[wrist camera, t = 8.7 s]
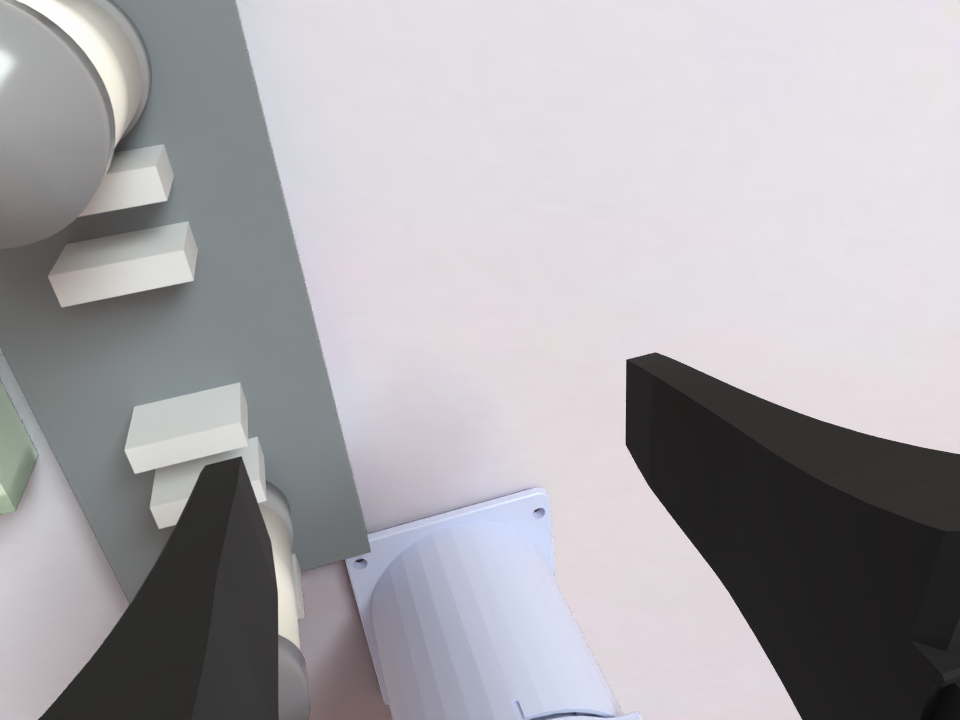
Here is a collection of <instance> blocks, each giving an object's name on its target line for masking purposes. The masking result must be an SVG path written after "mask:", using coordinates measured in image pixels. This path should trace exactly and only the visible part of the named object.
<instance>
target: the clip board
mask: <svg viewBox="0 0 960 720" xmlns="http://www.w3.org/2000/svg"><path fill="white" fill-rule="evenodd" d="M113 1H114V2H115V3H116V4H117V5H118V6H120V7H121V8H122V9H123V10H124V11H125V13H126V14H127V15H128V16H129V17H130V19H131V20H132V21H133V23H134V24H135V26H136V27H137V29H138V30H139V32H140V34H141V36H142V38H143V40H144V42H145V44H146V47H147V50H148V53H149V57H150V61H151V68H152V85H151V92H150V96H149V99H148V102H147V104H146V106H145V108H144V110H143V112H142V114H141V116H140V117H139V119H138V121H137V122H136V124H135V125H134V126H133V128H132V129H131V130H130V131H129V132H128V133H127V134H126V135H125V137H123V138H122V139H121V140H119V142H118V143H117V145H116V147H115V148H114V153H113V157H112V160H111V163H110V166H109V169H108V171H107V173H106V175H105V177H104V179H103V181H102V182H101V184H100V186H99V187H98V189H97V191H96V193H95V194H94V196H93V198H92V199H91V201H90V202H89V204H88V205H87V206H86V208H85V209H84V211H83V212H82V213H81V214H80V215H79V216H78V217H77V218H76V219H75V220H74V221H73V222H72V223H70V224H69V225H68V226H66V227H65V228H64V229H62V230H61V231H59V232H57V233H55V234H54V235H52V236H50V237H48V238H46V239H43V240H40V241H38V242H35V243H32V244H28V245H24V246H20V247H14V248H6V249H0V347H1V349H2V351H3V353H4V355H5V357H6V359H7V361H8V363H9V365H10V367H11V369H12V371H13V373H14V375H15V377H16V379H17V381H18V383H19V385H20V387H21V389H22V391H23V393H24V395H25V397H26V399H27V401H28V403H29V405H30V407H31V409H32V411H33V413H34V415H35V417H36V419H37V421H38V423H39V425H40V427H41V429H42V431H43V433H44V435H45V437H46V439H47V441H48V443H49V445H50V447H51V449H52V451H53V453H54V455H55V457H56V459H57V461H58V463H59V465H60V466H61V468H62V470H63V472H64V474H65V476H66V478H67V480H68V482H69V484H70V486H71V488H72V490H73V492H74V494H75V496H76V498H77V500H78V502H79V504H80V506H81V508H82V510H83V512H84V514H85V516H86V518H87V520H88V522H89V524H90V526H91V528H92V530H93V532H94V534H95V536H96V538H97V540H98V542H99V544H100V546H101V548H102V550H103V552H104V554H105V556H106V558H107V560H108V562H109V564H110V566H111V568H112V570H113V572H114V574H115V576H116V578H117V580H118V582H119V584H120V586H121V588H122V590H123V592H124V594H125V596H126V598H127V600H128V602H129V604H131V602H132V600H133V599H134V597H135V596H136V594H137V592H138V591H139V589H140V587H141V586H142V584H143V582H144V581H145V579H146V578H147V576H148V574H149V573H150V571H151V569H152V568H153V566H154V564H155V563H156V561H157V559H158V557H159V556H160V554H161V552H162V550H163V548H164V546H165V544H166V542H167V541H168V539H169V537H170V535H171V533H172V531H173V526H174V525H176V524H177V522H178V520H179V517H180V515H181V513H182V511H183V509H184V507H185V505H186V503H187V501H188V499H189V497H190V495H191V492H192V490H193V488H194V486H195V484H196V481H197V479H198V477H199V475H200V472H201V471H202V469H203V468H204V467H205V465H209V464H213V463H217V462H221V461H224V460H228V459H232V458H236V457H240V456H242V459H243V462H244V464H245V467H246V470H247V473H248V476H249V479H250V482H251V485H252V488H253V490H254V493H255V496H256V499H257V502H258V503H260V502H264V501H267V498H266V481H268V482H270V483H272V484H273V485H275V486H276V487H277V488H278V489H280V490H281V491H282V493H283V494H284V495H285V497H286V498H287V500H288V503H289V505H290V510H291V519H292V529H293V546H292V549H291V553H292V564H293V575H294V585H295V596H296V607H297V618H298V620H300V619H303V618H305V609H304V600H303V590H302V580H301V572H303V571H306V570H310V569H313V568H317V567H321V566H324V565H328V564H331V563H335V562H338V561H342V560H345V559H349V558H352V557H356V556H359V555H363V554H366V553H370V552H371V548H370V544H369V540H368V535H367V531H366V527H365V523H364V519H363V514H362V510H361V506H360V502H359V498H358V494H357V490H356V486H355V482H354V478H353V474H352V470H351V466H350V462H349V458H348V454H347V450H346V446H345V442H344V438H343V434H342V430H341V425H340V421H339V417H338V413H337V409H336V405H335V401H334V397H333V393H332V389H331V385H330V381H329V377H328V373H327V369H326V365H325V361H324V357H323V353H322V349H321V345H320V340H319V336H318V332H317V328H316V324H315V320H314V316H313V312H312V308H311V304H310V300H309V296H308V292H307V288H306V284H305V280H304V276H303V272H302V268H301V264H300V260H299V255H298V251H297V247H296V243H295V239H294V235H293V231H292V227H291V223H290V219H289V215H288V211H287V207H286V203H285V199H284V195H283V191H282V187H281V183H280V179H279V175H278V171H277V166H276V162H275V158H274V154H273V150H272V146H271V142H270V138H269V134H268V130H267V126H266V122H265V118H264V114H263V110H262V106H261V102H260V98H259V94H258V90H257V86H256V81H255V77H254V73H253V69H252V65H251V61H250V57H249V53H248V49H247V45H246V41H245V37H244V33H243V29H242V25H241V21H240V17H239V13H238V9H237V5H236V1H235V0H113Z"/></svg>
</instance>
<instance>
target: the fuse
mask: <svg viewBox="0 0 960 720" xmlns="http://www.w3.org/2000/svg"><path fill="white" fill-rule="evenodd" d="M151 85H152V68H151V61H150V57H149V53H148V50H147V47H146V44H145V42H144V40H143V38H142V36H141V34H140V32H139V30H138V29H137V27H136V26H135V24H134V23H133V21H132V20H131V19H130V17H129V16H128V15H127V14H126V13H125V11H124V10H123V9H122V8H121V7H120V6H118V5H117V4H116V3H115V2H114V1H113V0H0V249H6V248H14V247H20V246H24V245H28V244H32V243H35V242H38V241H40V240H43V239H46V238H48V237H50V236H52V235H54V234H55V233H57V232H59V231H61V230H62V229H64V228H65V227H66V226H68V225H69V224H70V223H72V222H73V221H74V220H75V219H76V218H77V217H78V216H79V215H80V214H81V213H82V212H83V211H84V209H85V208H86V206H87V205H88V204H89V202H90V201H91V199H92V198H93V196H94V194H95V193H96V191H97V189H98V187H99V186H100V184H101V182H102V181H103V179H104V177H105V175H106V173H107V171H108V169H109V166H110V163H111V160H112V157H113V153H114V148H115V147H116V145H117V143H118V142H119V140H121V139H122V138H123V137H125V135H126V134H127V133H128V132H129V131H130V130H131V129H132V128H133V126H134V125H135V124H136V122H137V121H138V119H139V117H140V116H141V114H142V112H143V110H144V108H145V106H146V104H147V102H148V99H149V96H150V92H151Z"/></svg>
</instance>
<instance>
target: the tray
mask: <svg viewBox="0 0 960 720" xmlns="http://www.w3.org/2000/svg"><path fill="white" fill-rule="evenodd" d="M37 456H38V452H37V450H36V448H35V446H34V445H33V443H32V441H31V439H30V437H29V435H28V433H27V431H26V429H25V427H24V425H23V423H22V421H21V419H20V417H19V415H18V414H17V412H16V410H15V408H14V406H13V404H12V402H11V400H10V398H9V396H8V394H7V392H6V390H5V388H4V386H3V385H2V383H1V381H0V515H2V514H6V513H10V512H14V511H16V510H17V507H18V505H19V502H20V500H21V497H22V495H23V492H24V489H25V487H26V484H27V482H28V479H29V477H30V474H31V472H32V469H33V467H34V464H35V461H36V459H37Z"/></svg>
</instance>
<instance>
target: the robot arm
mask: <svg viewBox="0 0 960 720" xmlns="http://www.w3.org/2000/svg"><path fill="white" fill-rule="evenodd" d="M626 446H627V448H628V450H629V452H630V453H631V455H632V457H633V459H634V461H635V463H636V464H637V466H638V468H639V470H640V472H641V473H642V475H643V477H644V478H645V480H646V482H647V484H648V485H649V487H650V488H651V490H652V491H653V492H654V494H655V495H656V496H657V498H658V499H659V500H660V502H661V503H662V504H663V506H664V507H665V508H666V510H667V511H668V512H669V514H670V515H671V516H672V517H673V519H674V520H675V521H676V523H677V524H678V525H679V527H680V528H681V529H682V530H683V532H684V533H685V534H686V536H687V537H688V538H689V540H690V541H691V542H692V543H693V545H694V546H695V547H696V549H697V550H698V551H699V552H700V554H701V555H702V556H703V558H704V559H705V560H706V562H707V563H708V564H709V565H710V567H711V568H712V569H713V571H714V572H715V573H716V575H717V576H718V578H719V579H720V580H721V582H722V583H723V585H724V586H725V588H726V589H727V590H728V592H729V593H730V595H731V597H732V598H733V600H734V602H735V603H736V605H737V606H738V608H739V610H740V611H741V613H742V615H743V616H744V618H745V620H746V621H747V623H748V624H749V626H750V628H751V629H752V631H753V633H754V634H755V636H756V638H757V639H758V641H759V643H760V645H761V646H762V648H763V650H764V652H765V653H766V655H767V657H768V658H769V660H770V662H771V664H772V665H773V667H774V669H775V671H776V672H777V674H778V676H779V678H780V679H781V681H782V683H783V685H784V687H785V688H786V690H787V692H788V694H789V696H790V698H791V700H792V701H793V703H794V705H795V707H796V709H797V711H798V713H799V714H800V716H801V718H802V720H960V454H955V453H949V452H944V451H938V450H933V449H928V448H922V447H918V446H913V445H909V444H905V443H900V442H896V441H891V440H887V439H883V438H879V437H875V436H871V435H867V434H863V433H860V432H856V431H853V430H850V429H846V428H843V427H840V426H837V425H833V424H830V423H827V422H823V421H820V420H817V419H814V418H812V417H809V416H806V415H803V414H800V413H798V412H795V411H792V410H790V409H787V408H784V407H782V406H779V405H777V404H774V403H771V402H769V401H767V400H764V399H762V398H759V397H757V396H754V395H752V394H750V393H747V392H745V391H743V390H740V389H738V388H736V387H734V386H731V385H729V384H727V383H725V382H722V381H720V380H718V379H716V378H714V377H711V376H709V375H707V374H705V373H703V372H700V371H698V370H696V369H694V368H692V367H689V366H687V365H685V364H683V363H681V362H678V361H676V360H674V359H671V358H669V357H666V356H664V355H661V354H659V353H656V352H655V353H651V354H647V355H643V356H640V357H636V358H632V359H628V360H626ZM538 508H541V509H540V510H539V511H537V512H534V510H536V509H538ZM367 535H368V540H369V544H370V548H371V552H370V553H366V554H363V555H359V556H356V557H352V558H349V559H345V563H346V566H347V570H348V574H349V577H350V581H351V585H352V588H353V592H354V595H355V599H356V603H357V606H358V610H359V614H360V617H361V621H362V625H363V628H364V632H365V635H366V639H367V643H368V646H369V650H370V654H371V657H372V661H373V665H374V668H375V672H376V675H377V679H378V683H379V686H380V690H381V694H382V697H383V701H384V703H385V704H386V705H388V706H390V710H391V715H392V720H643V719H642V717H641V715H640V713H639V712H633V713H630V714H627V715H624V713H623V711H622V710H621V708H620V706H619V704H618V702H617V700H616V698H615V696H614V694H613V692H612V690H611V688H610V686H609V684H608V682H607V680H606V678H605V676H604V674H603V672H602V670H601V668H600V666H599V664H598V662H597V660H596V658H595V657H594V655H593V653H592V651H591V649H590V647H589V645H588V643H587V641H586V639H585V637H584V635H583V633H582V631H581V629H580V627H579V625H578V623H577V621H576V619H575V617H574V615H573V613H572V611H571V609H570V607H569V605H568V604H567V602H566V600H565V598H564V596H563V594H562V592H561V590H560V588H559V586H558V584H557V582H556V578H555V564H554V551H553V537H552V523H551V510H550V499H549V496H548V494H547V492H546V491H545V490H544V489H543V488H539V487H538V488H532V489H529V490H525V491H521V492H518V493H514V494H511V495H507V496H503V497H500V498H496V499H493V500H489V501H486V502H482V503H478V504H475V505H471V506H468V507H464V508H460V509H457V510H453V511H450V512H446V513H442V514H439V515H435V516H432V517H428V518H424V519H421V520H417V521H414V522H410V523H406V524H403V525H399V526H396V527H392V528H388V529H385V530H381V531H378V532H374V533H371V534H367ZM358 559H364V560H363V561H361V562H355V561H356V560H358ZM38 720H279V712H278V589H277V581H276V573H275V565H274V558H273V551H272V543H271V540H270V537H269V534H268V531H267V528H266V525H265V522H264V519H263V516H262V514H261V511H260V508H259V505H258V502H257V499H256V496H255V493H254V490H253V488H252V485H251V482H250V479H249V476H248V473H247V470H246V467H245V464H244V462H243V459H242V456H240V457H236V458H232V459H228V460H224V461H221V462H217V463H213V464H209V465H205V467H204V468H203V469H202V471H201V472H200V475H199V477H198V479H197V481H196V484H195V486H194V488H193V490H192V492H191V495H190V497H189V499H188V501H187V503H186V505H185V507H184V509H183V511H182V513H181V515H180V517H179V520H178V522H177V524H176V526H175V527H174V529H173V531H172V533H171V535H170V537H169V539H168V541H167V542H166V544H165V546H164V548H163V550H162V552H161V554H160V556H159V557H158V559H157V561H156V563H155V564H154V566H153V568H152V569H151V571H150V573H149V574H148V576H147V578H146V579H145V581H144V582H143V584H142V586H141V587H140V589H139V591H138V592H137V594H136V596H135V597H134V599H133V600H132V602H131V604H130V605H129V607H128V608H127V610H126V611H125V613H124V614H123V615H122V617H121V618H120V620H119V621H118V623H117V624H116V626H115V627H114V628H113V630H112V631H111V633H110V634H109V635H108V637H107V638H106V639H105V641H104V642H103V644H102V645H101V646H100V648H99V649H98V650H97V652H96V653H95V654H94V656H93V657H92V658H91V659H90V661H89V662H88V663H87V664H86V665H85V667H84V668H83V669H82V670H81V671H80V673H79V674H78V675H77V676H76V677H75V678H74V680H73V681H72V682H71V683H70V684H69V685H68V687H67V688H66V689H65V690H64V691H63V692H62V694H61V695H60V696H59V697H58V698H57V700H56V701H55V702H54V703H53V704H52V705H51V707H50V708H49V709H48V710H47V711H46V712H45V713H44V714H43V715H42V716H41V717H40V718H39V719H38Z"/></svg>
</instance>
